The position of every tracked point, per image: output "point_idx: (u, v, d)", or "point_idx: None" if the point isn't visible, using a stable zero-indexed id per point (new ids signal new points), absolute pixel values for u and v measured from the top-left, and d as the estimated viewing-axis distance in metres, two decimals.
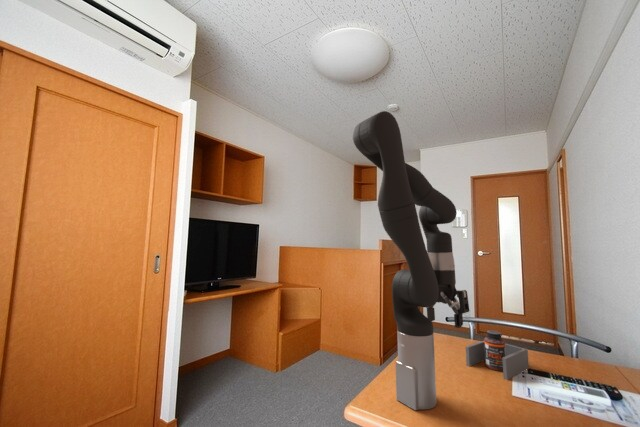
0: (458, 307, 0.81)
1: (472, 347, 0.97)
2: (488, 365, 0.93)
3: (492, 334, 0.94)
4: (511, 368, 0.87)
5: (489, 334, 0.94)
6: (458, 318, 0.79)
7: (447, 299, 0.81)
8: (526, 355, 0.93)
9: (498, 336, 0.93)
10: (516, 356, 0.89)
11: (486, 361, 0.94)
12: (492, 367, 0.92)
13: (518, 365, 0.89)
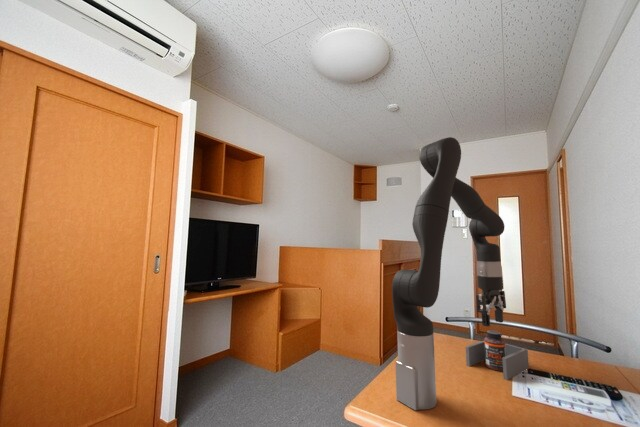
0: None
1: (472, 347, 0.97)
2: (488, 365, 0.93)
3: (492, 334, 0.94)
4: (511, 368, 0.87)
5: (489, 334, 0.94)
6: None
7: (500, 300, 0.96)
8: (526, 355, 0.93)
9: (498, 336, 0.93)
10: (516, 356, 0.89)
11: (486, 361, 0.94)
12: (492, 367, 0.92)
13: (518, 365, 0.89)
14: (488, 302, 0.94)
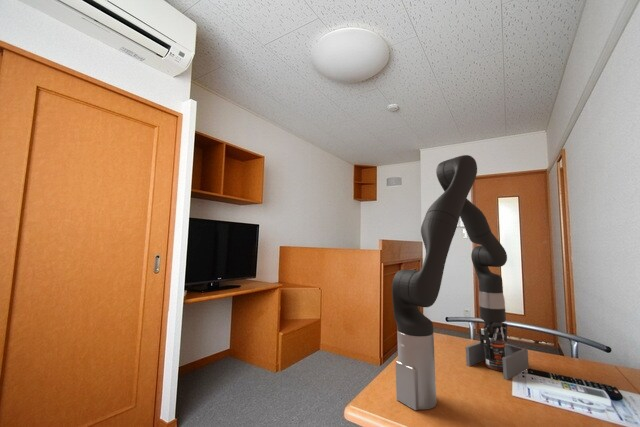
0: None
1: (472, 347, 0.97)
2: (488, 365, 0.93)
3: None
4: (511, 368, 0.87)
5: None
6: None
7: (502, 332, 0.95)
8: (526, 355, 0.93)
9: (498, 336, 0.93)
10: (516, 356, 0.89)
11: (486, 361, 0.94)
12: (492, 367, 0.92)
13: (518, 365, 0.89)
14: (491, 335, 0.93)
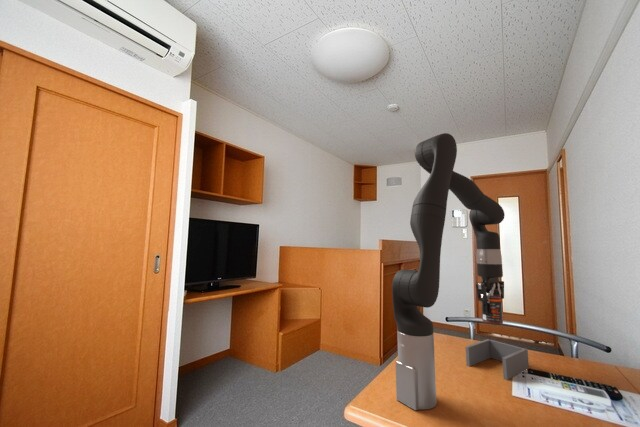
0: None
1: (472, 347, 0.97)
2: (485, 320, 0.95)
3: None
4: (511, 368, 0.87)
5: None
6: None
7: (499, 289, 0.96)
8: (526, 355, 0.93)
9: (495, 291, 0.94)
10: (516, 356, 0.89)
11: (483, 316, 0.95)
12: (489, 321, 0.93)
13: (518, 365, 0.89)
14: (488, 290, 0.95)
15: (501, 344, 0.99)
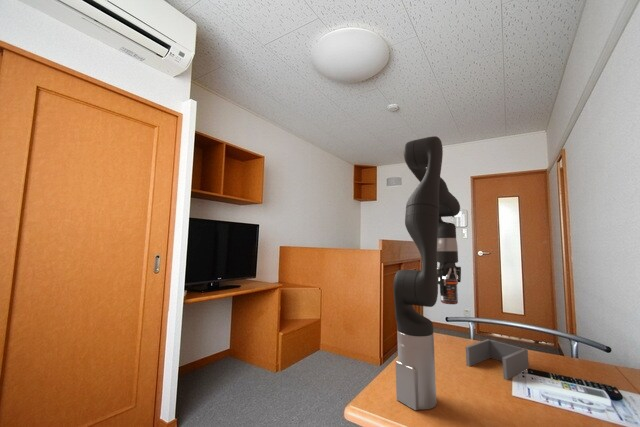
0: None
1: (472, 347, 0.97)
2: (442, 300, 1.07)
3: None
4: (511, 368, 0.87)
5: None
6: None
7: (455, 273, 1.09)
8: (526, 355, 0.93)
9: (451, 275, 1.07)
10: (516, 356, 0.89)
11: (441, 297, 1.08)
12: (445, 301, 1.06)
13: (518, 365, 0.89)
14: (445, 274, 1.07)
15: (501, 344, 0.99)
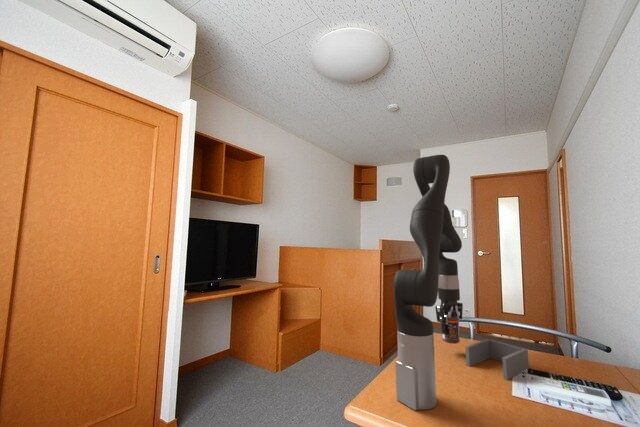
0: None
1: (472, 347, 0.97)
2: (444, 339, 1.06)
3: None
4: (511, 368, 0.87)
5: None
6: None
7: (457, 310, 1.07)
8: (526, 355, 0.93)
9: (453, 313, 1.05)
10: (516, 356, 0.89)
11: (443, 335, 1.06)
12: (447, 340, 1.04)
13: (518, 365, 0.89)
14: (446, 312, 1.06)
15: (501, 344, 0.99)
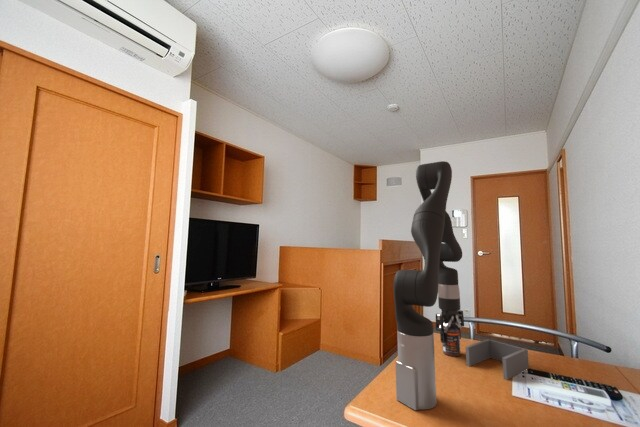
0: None
1: (472, 347, 0.97)
2: (444, 351, 1.05)
3: None
4: (511, 368, 0.87)
5: None
6: (460, 331, 1.09)
7: (458, 319, 1.07)
8: (526, 355, 0.93)
9: (453, 326, 1.05)
10: (516, 356, 0.89)
11: (443, 348, 1.06)
12: (447, 353, 1.04)
13: (518, 365, 0.89)
14: (446, 321, 1.05)
15: (501, 344, 0.99)
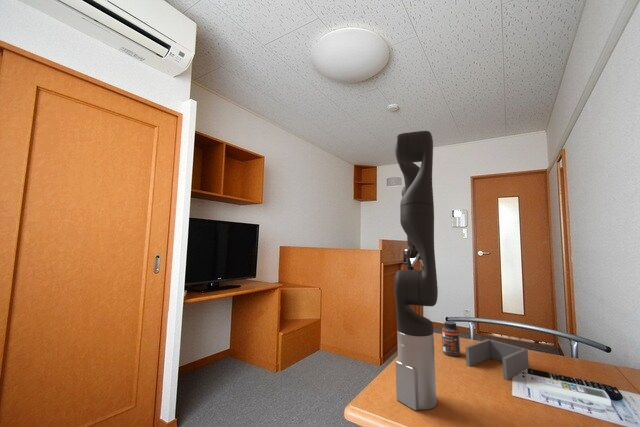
0: None
1: (472, 347, 0.97)
2: (444, 351, 1.05)
3: (448, 324, 1.05)
4: (511, 368, 0.87)
5: (446, 324, 1.06)
6: None
7: None
8: (526, 355, 0.93)
9: (453, 326, 1.05)
10: (516, 356, 0.89)
11: (443, 348, 1.06)
12: (447, 353, 1.04)
13: (518, 365, 0.89)
14: (413, 256, 1.11)
15: (501, 344, 0.99)
